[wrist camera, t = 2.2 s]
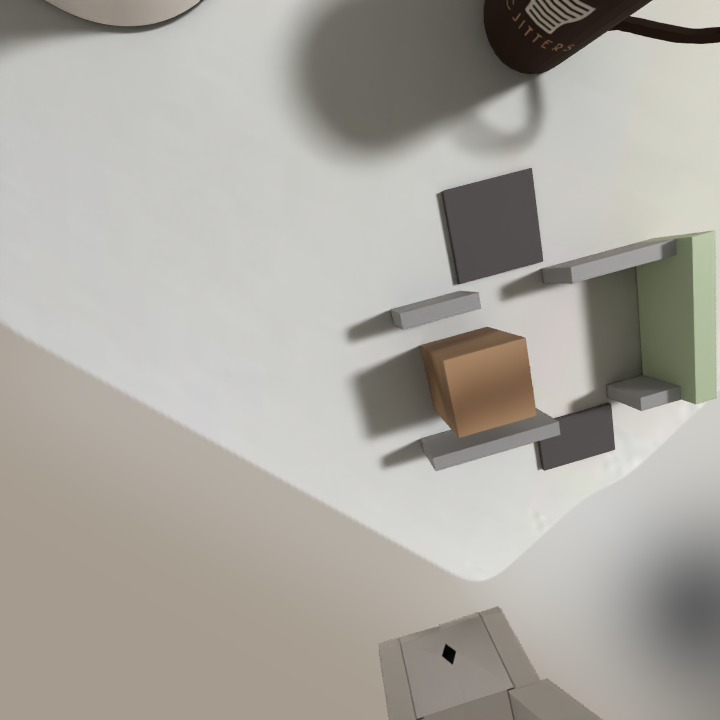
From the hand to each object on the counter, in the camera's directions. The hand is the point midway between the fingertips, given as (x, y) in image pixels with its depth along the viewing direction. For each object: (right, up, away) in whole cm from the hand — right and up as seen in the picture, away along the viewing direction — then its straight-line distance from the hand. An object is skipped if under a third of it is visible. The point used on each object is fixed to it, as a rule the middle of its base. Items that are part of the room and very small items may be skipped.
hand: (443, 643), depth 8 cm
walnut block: (+5, +6, +17) cm, 19 cm away
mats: (+11, +9, +17) cm, 22 cm away
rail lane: (+10, +7, +18) cm, 22 cm away
